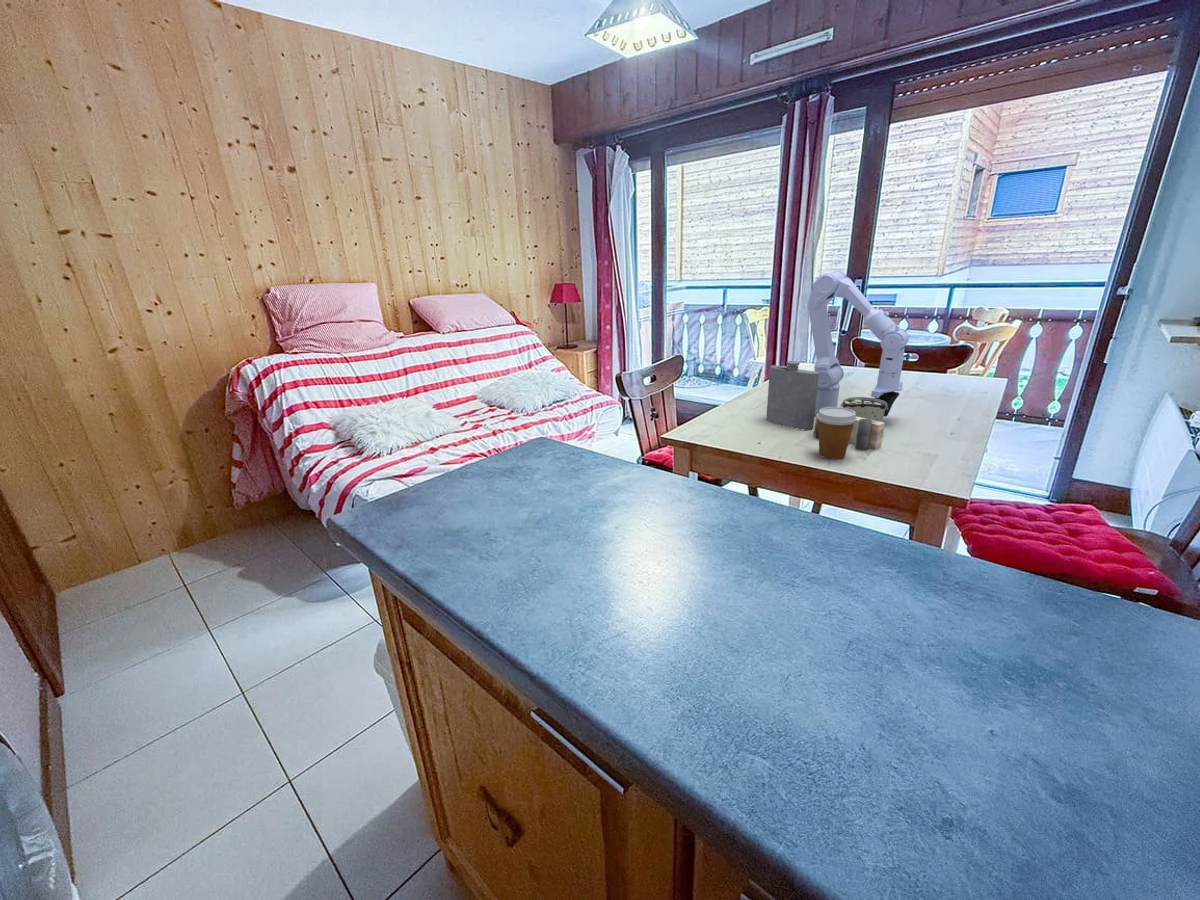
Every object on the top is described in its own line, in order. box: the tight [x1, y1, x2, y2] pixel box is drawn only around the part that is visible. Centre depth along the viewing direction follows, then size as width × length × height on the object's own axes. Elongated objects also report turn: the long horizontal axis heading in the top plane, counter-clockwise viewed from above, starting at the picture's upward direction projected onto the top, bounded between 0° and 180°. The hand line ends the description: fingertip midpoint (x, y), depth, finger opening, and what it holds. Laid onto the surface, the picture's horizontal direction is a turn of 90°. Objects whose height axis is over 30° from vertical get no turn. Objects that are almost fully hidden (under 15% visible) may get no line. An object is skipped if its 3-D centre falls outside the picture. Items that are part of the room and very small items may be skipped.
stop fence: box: [813, 410, 886, 451], centre depth 140 cm, size 18×6×8 cm, turn 37°
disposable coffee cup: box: [817, 406, 857, 460], centre depth 131 cm, size 10×10×12 cm
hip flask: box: [765, 360, 819, 431], centre depth 153 cm, size 16×4×20 cm, turn 38°
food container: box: [839, 396, 888, 422], centre depth 146 cm, size 12×6×10 cm, turn 74°
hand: (882, 415), depth 153 cm, fingers closed
